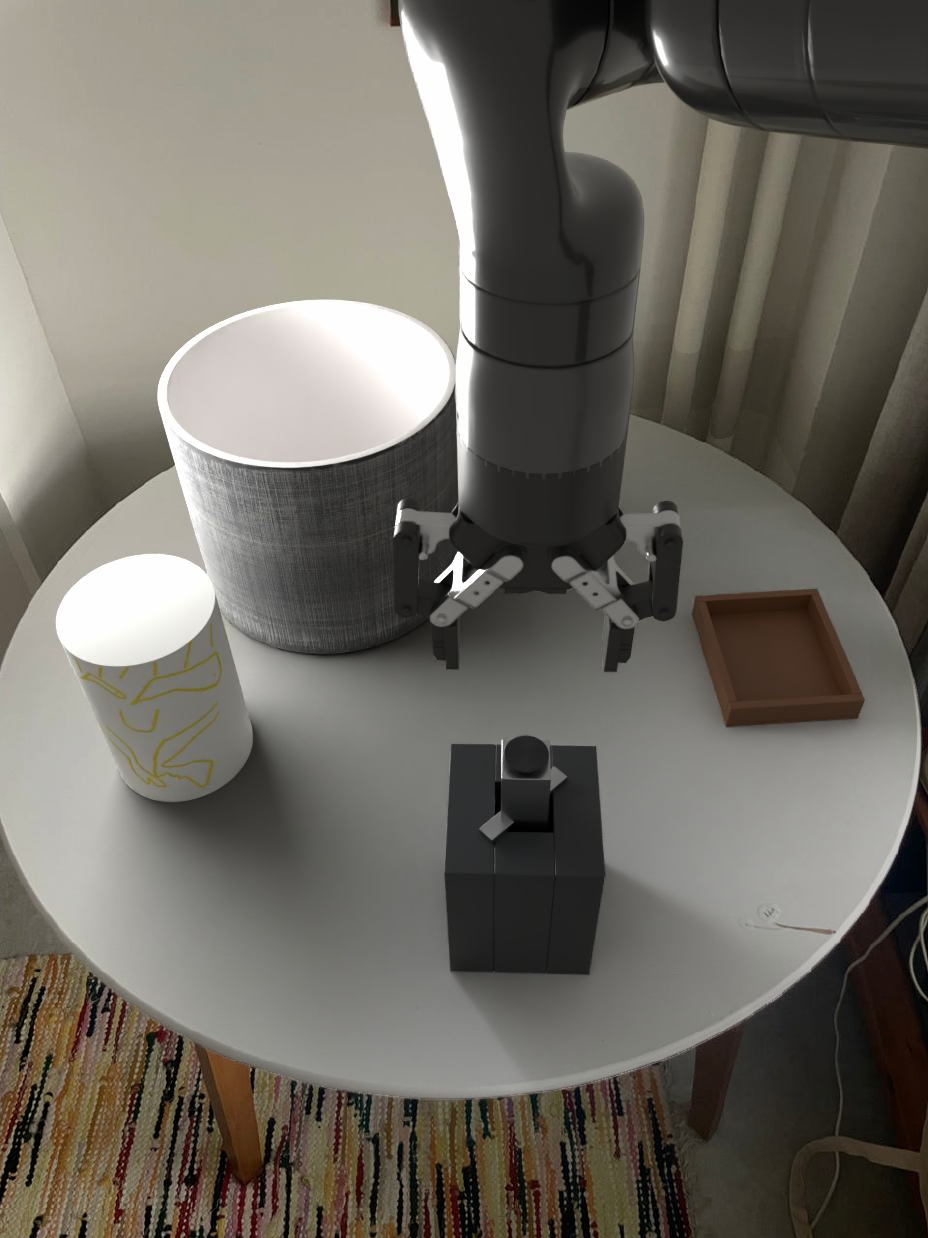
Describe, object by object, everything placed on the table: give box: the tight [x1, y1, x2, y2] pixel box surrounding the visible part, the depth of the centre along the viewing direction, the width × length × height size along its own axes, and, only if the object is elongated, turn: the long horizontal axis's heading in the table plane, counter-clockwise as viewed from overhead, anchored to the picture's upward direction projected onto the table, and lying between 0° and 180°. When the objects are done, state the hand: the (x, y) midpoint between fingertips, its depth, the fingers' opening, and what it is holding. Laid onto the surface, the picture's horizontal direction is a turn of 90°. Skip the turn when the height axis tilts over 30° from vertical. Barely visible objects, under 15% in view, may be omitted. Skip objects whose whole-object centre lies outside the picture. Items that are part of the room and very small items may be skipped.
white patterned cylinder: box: [55, 553, 254, 803], centre depth 82 cm, size 12×12×17 cm
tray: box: [691, 588, 866, 728], centre depth 93 cm, size 14×12×2 cm
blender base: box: [443, 743, 606, 976], centre depth 72 cm, size 10×10×14 cm
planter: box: [157, 299, 459, 655], centre depth 96 cm, size 25×25×22 cm
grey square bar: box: [479, 734, 567, 844], centre depth 68 cm, size 6×6×15 cm
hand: (531, 659), depth 56 cm, fingers open, 8 cm apart
